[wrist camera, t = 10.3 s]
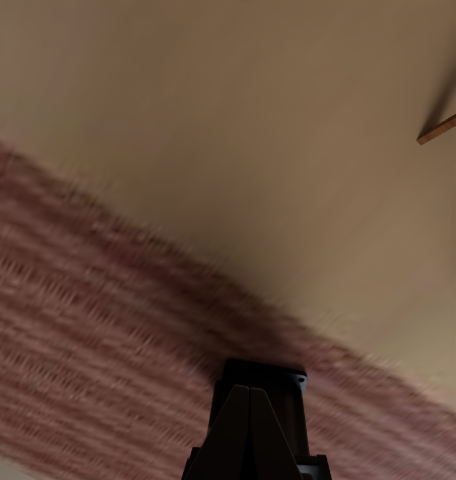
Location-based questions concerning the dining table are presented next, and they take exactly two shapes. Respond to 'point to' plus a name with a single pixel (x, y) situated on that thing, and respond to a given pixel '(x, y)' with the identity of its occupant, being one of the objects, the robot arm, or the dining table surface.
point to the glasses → (438, 130)
